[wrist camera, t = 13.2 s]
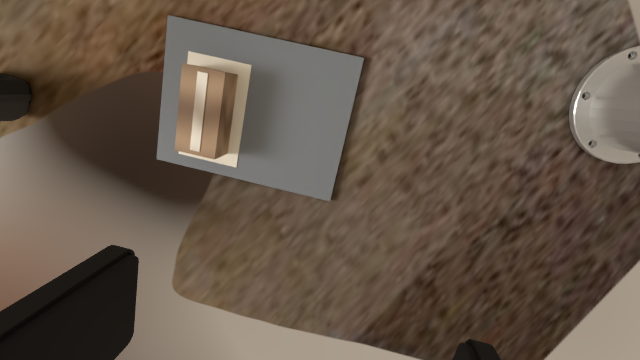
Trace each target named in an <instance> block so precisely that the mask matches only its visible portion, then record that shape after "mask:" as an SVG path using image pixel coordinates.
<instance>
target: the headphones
mask: <svg viewBox="0 0 640 360" xmlns="http://www.w3.org/2000/svg"><path fill="white" fill-rule="evenodd" d="M29 92H30V87H29V85H28V84H27V83H26V82H25V81H23V80H21V79H18V78H15V77H12V76H8V75H5V74H1V73H0V121H13V120H16V119H19V118H21V117H22V116H24V115H25V114H26V113H27V110H28V107H29V101H31V94H30V93H29Z"/></svg>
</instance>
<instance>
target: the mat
mask: <svg viewBox="0 0 640 360" xmlns="http://www.w3.org/2000/svg"><path fill="white" fill-rule="evenodd" d="M363 61H364V58H362V57H357V56H353V55H348V54H344V53H339V52H335V51H330V50H325V49H321V48H316V47H312V46H307V45H303V44H298V43H293V42H289V41H284V40H280V39H275V38H271V37H266V36H261V35H257V34H252V33H248V32H243V31H238V30H234V29H229V28H225V27H220V26H216V25H211V24H206V23H202V22H197V21H193V20H188V19H184V18H179V17H174V16H170V15H168V20H167V33H166V46H165V59H164V72H163V84H162V86H163V87H162V97H161V111H160V124H159V136H158V137H159V138H158V149H157V159H159V160H163V161H167V162H171V163H175V164H179V165H183V166H187V167H192V168H196V169H200V170H204V171H208V172H212V173H216V174H220V175H224V176H228V177H232V178H236V179H241V180H245V181H249V182H253V183H257V184H261V185H265V186H269V187H273V188H277V189H282V190H286V191H290V192H294V193H298V194H302V195H306V196H310V197H314V198H318V199H323V200H327V201H330V200H331V195H332V191H333V187H334V183H335V179H336V174H337V170H338V166H339V162H340V158H341V153H342V149H343V145H344V141H345V137H346V132H347V128H348V124H349V120H350V116H351V111H352V107H353V103H354V99H355V95H356V90H357V86H358V82H359V78H360V74H361V69H362V65H363ZM182 63H185V64H190V65H196V66H201V67H206V68H210V69H215V70H219V71H224V72H228V73H233V74H237V75H238V80H237V87H236V95H235V102H234V110H233V117H232V125H231V132H230V140H229V147H228V154H226V155H224V156H221V157H219V158H217V159H210V158H206V157H202V156H198V155H193V154H189V153H185V152H180V151H176V150H175V139H176V128H177V116H178V105H179V93H180V81H181V70H182Z"/></svg>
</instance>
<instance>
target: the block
mask: <svg viewBox="0 0 640 360" xmlns="http://www.w3.org/2000/svg"><path fill="white" fill-rule="evenodd" d="M237 80H238V75H237V74H233V73H228V72H224V71H219V70H215V69H210V68H206V67H201V66H196V65H190V64H185V63H182V70H181V81H180V93H179V105H178V116H177V128H176V139H175V150H176V151H180V152H185V153H189V154H193V155H198V156H202V157H206V158H210V159H217V158H219V157H221V156H224V155H226V154H228V147H229V140H230V132H231V125H232V117H233V110H234V102H235V95H236V87H237Z"/></svg>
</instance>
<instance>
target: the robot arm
mask: <svg viewBox="0 0 640 360" xmlns="http://www.w3.org/2000/svg"><path fill="white" fill-rule="evenodd" d="M582 94H583V97H582ZM569 123H570V129H571V131H572V134H573V137H574V139H575V140H576V142H577V143H578V144H579V146H580V147H581V148H582V149H583V150H584V151H586V152H587V153H588V154H590V155H592V156H593V157H595V158H598V159H601V160H604V161H608V162H612V163H620V164H630V163H638V162H640V46H637V47H632V48H627V49H624V50H622V51H619V52H616V53H614V54H612V55H610V56H608V57H607V58H605V59H603V60H602V61H601V62H599V63H598V64H597V65H595V66H594V67H593V68H592V69H591V70H590V71H589V72H588V73H587V74H586V75H585V76H584V78H583V79H582V81H581V82H580V83H579V85H578V86H577V88H576V91H575V93H574V95H573V97H572V101H571V104H570V109H569ZM138 263H139V261H138V257H136V256H135V254H134V251H133V250H131V249H127V248H123V247H120V246H116V245H111V246H108V247H106V248H105V249H103V250H102V251H100V252H98V253H97V254H95V255H93V256H92V257H90V258H88V259H87V260H85V261H83V262H82V263H80V264H78V265H77V266H75V267H73V268H72V269H70V270H69V271H67V272H65V273H63V274H62V275H60V276H59V277H57V278H55V279H53V280H52V281H50V282H49V283H47V284H45V285H44V286H42V287H40V288H39V289H37V290H35V291H34V292H32V293H31V294H29V295H27V296H25V297H24V298H22V299H20V300H19V301H17V302H15V303H14V304H12V305H10V306H9V307H7V308H6V309H4V310H2V311H1V312H0V360H114V359H115V358H116V357H117V356H118V355H119V353H121V352H122V351H123V349H124V348H125V347H126V346H127V345H128V343H129V342H130V340H131V338H132V336H133V333H134V321H135V306H136V291H137V277H138V276H137V275H138ZM453 360H500V358H499V356H498V354H497V352H496V350H495V348H494V347H493V346H492V345H490V344H487V343H483V342H479V341H476V340H472V339H468V340H467V341H466V343H460V344H459V346H458V348H457V350H456V353H455V355H454V358H453Z"/></svg>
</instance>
